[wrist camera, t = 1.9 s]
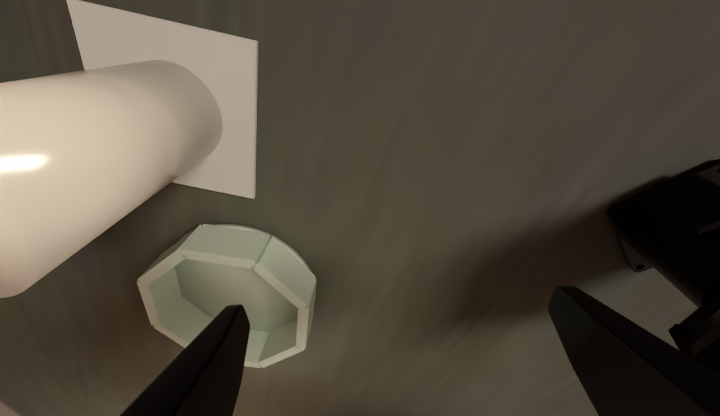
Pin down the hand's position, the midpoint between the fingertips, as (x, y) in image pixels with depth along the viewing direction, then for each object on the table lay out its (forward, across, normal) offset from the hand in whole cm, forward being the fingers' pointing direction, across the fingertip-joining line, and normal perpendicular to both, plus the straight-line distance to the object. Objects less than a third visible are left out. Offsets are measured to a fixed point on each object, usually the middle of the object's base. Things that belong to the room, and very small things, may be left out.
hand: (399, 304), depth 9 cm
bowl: (+13, +11, +12) cm, 21 cm away
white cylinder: (+13, +12, -2) cm, 18 cm away
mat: (+14, +12, -2) cm, 18 cm away
